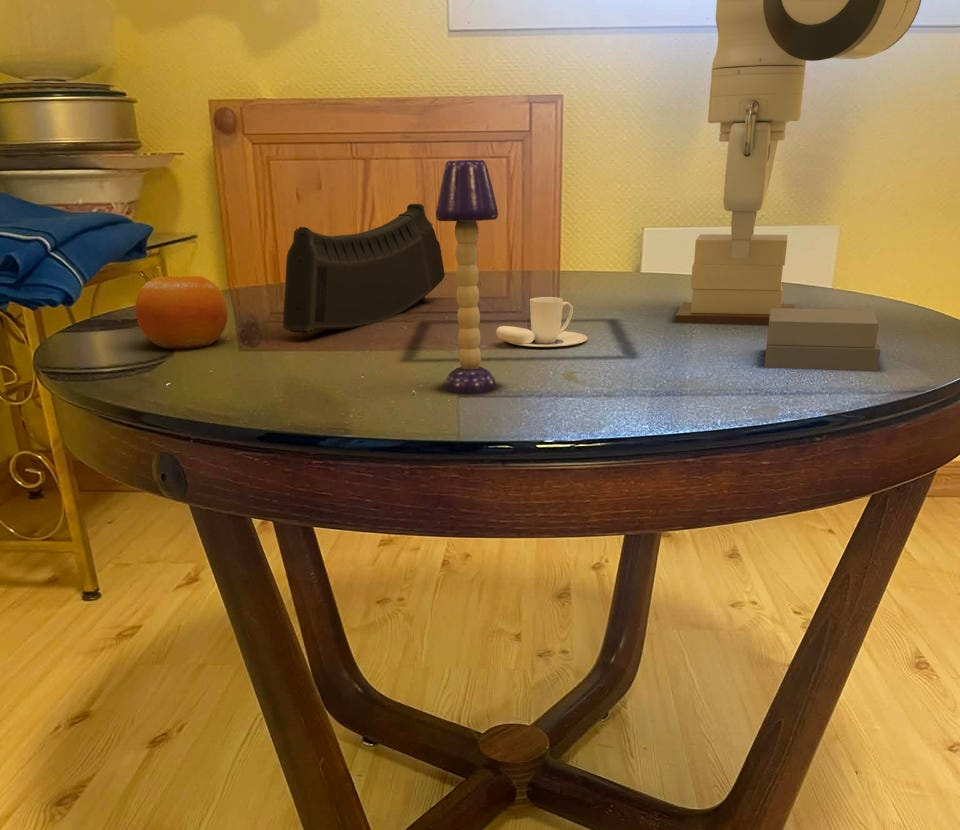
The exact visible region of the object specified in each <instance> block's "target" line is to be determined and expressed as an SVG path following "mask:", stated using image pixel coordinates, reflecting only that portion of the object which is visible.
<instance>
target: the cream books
mask: <svg viewBox="0 0 960 830" xmlns="http://www.w3.org/2000/svg"><path fill="white" fill-rule="evenodd" d="M783 269H784V266H776V265H694V263H693V264H692V268H691V278H690V279H691V280H690V289H691V290H692V293H691V294H692V295H691V301H683V302H682V304H681V305H680V307H679V309H678V310H677V312H676V313H675V315H674V323H675V324H708V325H709V324H710V325H711V324H712V325H748V326H749V325H753V326H769V317H770V309H771V308H794V309H795V304H794V303H782V299H783V286H784V285H783V282H782V278H783Z"/></svg>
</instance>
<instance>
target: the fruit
mask: <svg viewBox="0 0 960 830" xmlns="http://www.w3.org/2000/svg"><path fill="white" fill-rule="evenodd" d="M134 309H135V310H134V313H135V318H136V322H137V324H138V327H139V328H140V330H141V332H142V333H143V335H144V336H146V338H147V339H148V340H149V341H150V342H152V343H153V345H156V346H158V347H160V348H162V349H167V350H168V349H169V350H185V349H197V348H202V347H209V346H211V345H212V344H214V343H215V342H216V341H218V339H219V338H220V336H221V335H222V334H223V332H224V330H225V328H226V325H227V321H228V307H227V302H226V299H225V296H224V294H223V292H222V291H221V289H220V288H219V287H218V285H216V284H215V283H214V282H213V281H211V280H210V279H208V278H206V277H204V276H200V275H188V276H172V275H171V276H169V275H168V276H156V277H153V278H152V279H150V280H148V281H147V282H146V283H145V284H144V285H142V286H141V289H140V290H139V292H138V293H137V297H136V301H135V308H134Z"/></svg>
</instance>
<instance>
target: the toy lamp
mask: <svg viewBox="0 0 960 830" xmlns="http://www.w3.org/2000/svg"><path fill="white" fill-rule="evenodd" d="M441 178H442V179H441V184H440V188H439V193H438V198H437V202H436V203H437V204H436V208H435V209H436V210H435V219H436V221H438V222H455V225H454V237H455V240H456V242H457V243H456V245H455V250H454V251H455V253H454V256H455V260H456V262H457V266H456V269H455V279H456V282H457V285H458V286H457V288H456V297H455V298H456V302H457V305H458V309H457V314H456V315H457V316H456V317H457V319H456V320H457V323H458V325H459V330H458V336H457V338H458V344H459V346H460V349H459V352H458V353H459V354H458V360H459V365H460V366H459V367H457V368H454V369H453V370H451V372H449V374H448V375H447V376H446V378H445V381H444V386H443V390H444V391H445V392H447V393H449V394H456V395H480V394H487V393H490V392H494V391H496V390H497V388H498V386H497V382H496V379H495V376H494V375H493V374H492V372H490V371H489V370H488V369H486V368H484V367H483V366H480V365H481V362H482V353H481V350H480V344H481V338H482V337H481V336H482V335H481V331H480V328H479V326H480V322H481V312H480V309H479V307H478V305H479V302H480V290H479V288H478V286H477V284H478V282H479V276H480V274H479V273H480V272H479V268H478V265H477V262H478V259H479V247H478V245H477V240H478V237H479V227H478V223H477V222H479V221H492V220H493V221H495V220H497V219H498V217H499V211H498V205H497V202H496V197H495V193H494V188H493V185H492V180H491V177H490V172H489V169H488V166H487V163H486V162H485V160H484V159H457V160H454V159H453V160H447V161H446V163H445V165H444V167H443V172H442V177H441Z"/></svg>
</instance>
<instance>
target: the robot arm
mask: <svg viewBox="0 0 960 830" xmlns="http://www.w3.org/2000/svg"><path fill="white" fill-rule="evenodd" d="M921 4H922V0H716V5H715V25H716V30H717V46H716V52H715V55H714V58H713V60H712V64H711V73H710V87H709V89H710V90H709V100H708V113H707V114H708V115H707V122H708V123H709V124H720V125H719V138H718V139H719V140H718V141H719V142H721V143H722V142H723V143H724V142H727V143H728V144H727V154H726V165H725V175H724V187H723V209H724V211H727V212H731V222H730V223H731V224H730V227H731V232H730V234H732V241H731V254H730V255H731V257H732V258H733V259H745V258H747V257H748V256H749V250H750V240H751V235H754V231H755V226H756V219H757V215H758V214H757V213H758V212H759V211H760V210H762V208H763V205H764V201H765V198H766V196H767V193H768V190H769V187H770V181H771V176H772V172H773V167H774V163H775V157H776V152H777V147H778V143H779V141H785V139H786V132H785V131H786V129H787V123H790V122H799V121H800V120H801V112H802V102H803V95H804V87H805V86H804V84H805V75H806V64H807V61H808V62H818V61H825V60H829V59H837V60H861V59H866V58H870V57H874V56H875V55H878V54H880V53H882V52H884V51H886V50H888V49H890V48H891V47H893V46H894V45H895V44H896V43H898V42H899V41H900V40H901V39H902V38H903V37H904V35H905V34H906V33H907V32H908V31H909V29H910V27H912V24H913V23H914V21H915V19H916V17H917V16H918V13H919V10H920V7H921Z"/></svg>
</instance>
